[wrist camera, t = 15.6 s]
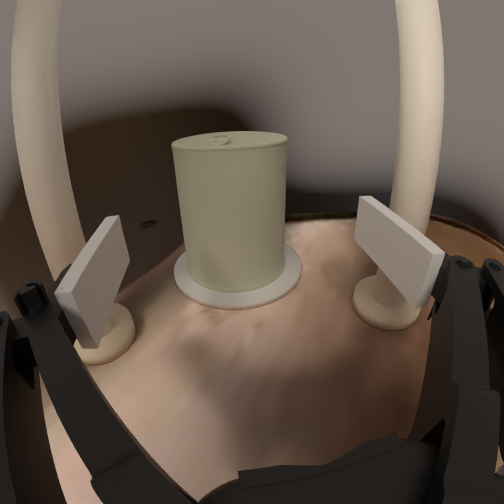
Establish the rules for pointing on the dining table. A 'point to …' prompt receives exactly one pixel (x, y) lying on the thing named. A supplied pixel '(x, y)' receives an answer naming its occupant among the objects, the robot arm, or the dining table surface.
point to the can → (232, 207)
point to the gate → (60, 191)
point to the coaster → (240, 299)
